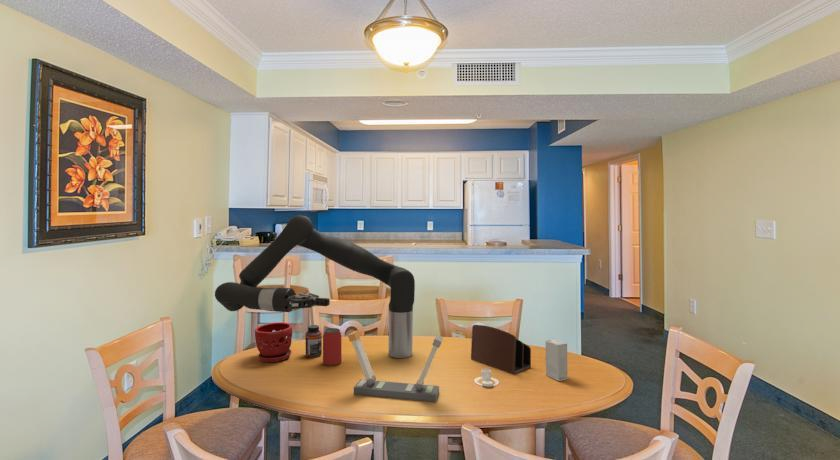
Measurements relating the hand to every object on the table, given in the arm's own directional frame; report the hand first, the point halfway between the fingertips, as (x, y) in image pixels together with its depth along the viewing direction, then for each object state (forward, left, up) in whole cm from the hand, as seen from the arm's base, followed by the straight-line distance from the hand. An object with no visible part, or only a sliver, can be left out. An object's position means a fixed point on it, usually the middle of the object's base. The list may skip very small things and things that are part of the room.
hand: (328, 302), depth 130 cm
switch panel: (0, +22, -27) cm, 34 cm away
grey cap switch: (0, +29, -23) cm, 37 cm away
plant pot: (-20, -30, -27) cm, 45 cm away
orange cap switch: (0, +14, -23) cm, 27 cm away
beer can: (-20, -7, -27) cm, 34 cm away
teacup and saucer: (-13, +46, -27) cm, 55 cm away
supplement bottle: (-26, -17, -27) cm, 41 cm away
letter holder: (-32, +52, -27) cm, 67 cm away
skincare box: (-23, +71, -27) cm, 79 cm away
